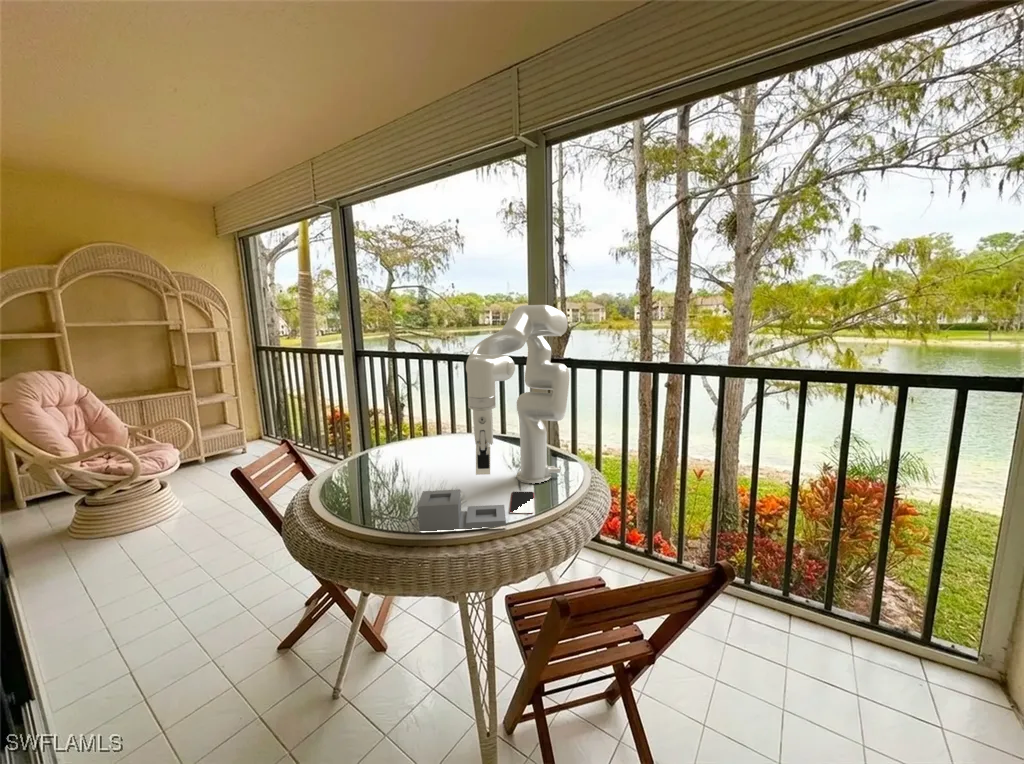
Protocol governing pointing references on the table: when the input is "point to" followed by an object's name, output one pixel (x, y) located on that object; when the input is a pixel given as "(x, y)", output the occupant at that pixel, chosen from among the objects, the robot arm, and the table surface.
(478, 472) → the plug
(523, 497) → the smartphone
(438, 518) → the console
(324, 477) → the table surface
